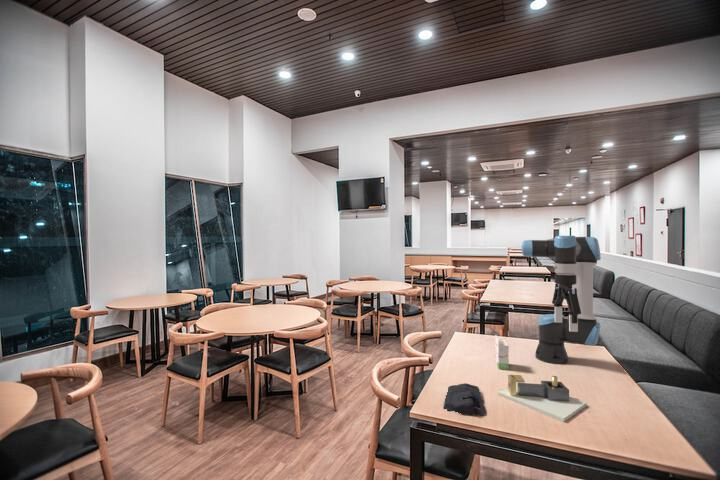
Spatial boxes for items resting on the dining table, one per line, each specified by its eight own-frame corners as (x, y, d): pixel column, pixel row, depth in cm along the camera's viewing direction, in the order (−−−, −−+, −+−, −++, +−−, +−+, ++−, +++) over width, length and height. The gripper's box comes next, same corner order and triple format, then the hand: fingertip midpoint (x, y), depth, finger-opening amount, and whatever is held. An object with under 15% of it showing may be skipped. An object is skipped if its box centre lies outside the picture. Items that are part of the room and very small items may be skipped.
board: (522, 382, 149) (522, 380, 149) (586, 405, 128) (586, 402, 128) (498, 395, 138) (498, 392, 138) (563, 422, 117) (563, 418, 117)
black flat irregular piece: (484, 392, 141) (484, 381, 141) (485, 419, 120) (485, 406, 120) (447, 387, 146) (446, 376, 146) (442, 412, 125) (441, 399, 125)
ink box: (509, 369, 163) (509, 339, 163) (498, 369, 164) (498, 339, 164) (505, 363, 172) (505, 334, 172) (495, 362, 173) (494, 334, 173)
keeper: (520, 394, 138) (520, 375, 138) (524, 400, 133) (524, 380, 133) (507, 393, 139) (507, 374, 139) (511, 399, 134) (511, 379, 134)
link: (560, 392, 136) (560, 381, 136) (569, 401, 129) (569, 390, 129) (515, 389, 139) (515, 379, 139) (521, 398, 132) (521, 387, 132)
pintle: (553, 394, 135) (553, 375, 135) (558, 396, 133) (558, 377, 133) (550, 396, 134) (550, 376, 134) (556, 398, 132) (556, 378, 132)
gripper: (543, 270, 147) (543, 318, 147) (569, 277, 122) (569, 335, 123) (562, 270, 146) (562, 319, 146) (591, 277, 121) (591, 336, 121)
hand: (565, 326), depth 134 cm, fingers open, 13 cm apart
